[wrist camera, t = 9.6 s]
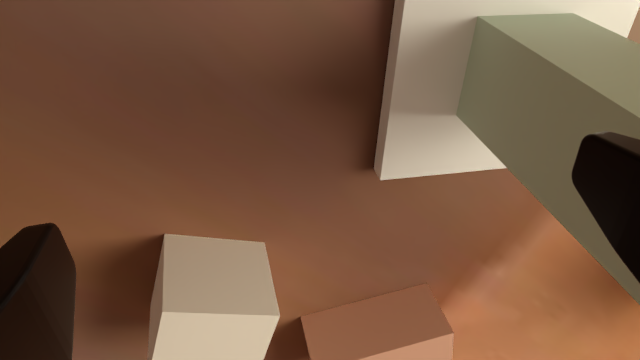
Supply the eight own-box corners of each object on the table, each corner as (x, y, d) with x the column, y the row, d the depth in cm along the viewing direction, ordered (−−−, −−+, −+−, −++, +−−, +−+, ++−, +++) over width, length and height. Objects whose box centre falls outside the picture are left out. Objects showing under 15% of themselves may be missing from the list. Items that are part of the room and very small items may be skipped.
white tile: (373, 168, 25) (380, 180, 24) (404, -79, 19) (415, -75, 18) (566, 151, 27) (578, 161, 26) (651, -74, 21) (670, -71, 20)
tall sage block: (456, 115, 23) (669, 336, 13) (477, 15, 20) (764, 196, 10) (542, 108, 24) (803, 309, 14) (573, 13, 21) (920, 176, 11)
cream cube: (150, 304, 27) (146, 388, 23) (164, 232, 24) (162, 311, 20) (242, 308, 29) (253, 386, 25) (264, 241, 26) (280, 315, 22)
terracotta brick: (308, 353, 33) (322, 410, 29) (300, 314, 30) (314, 371, 27) (425, 321, 33) (451, 373, 30) (425, 280, 31) (453, 332, 28)
